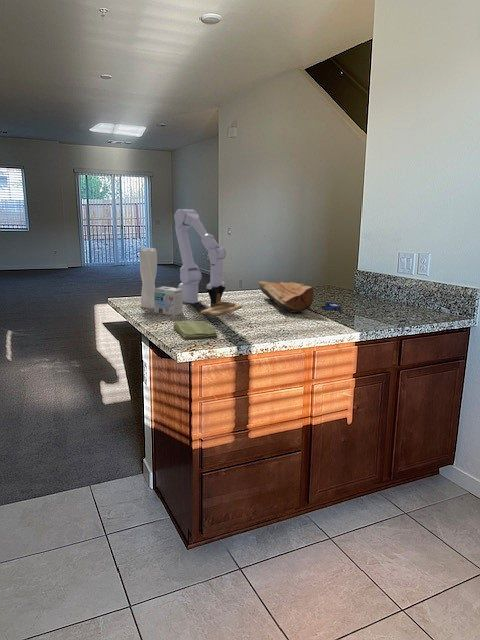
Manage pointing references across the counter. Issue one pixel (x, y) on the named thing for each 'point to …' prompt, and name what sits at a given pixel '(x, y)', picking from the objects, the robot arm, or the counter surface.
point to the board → (220, 309)
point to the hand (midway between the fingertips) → (215, 302)
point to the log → (289, 295)
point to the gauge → (221, 302)
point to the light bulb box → (168, 301)
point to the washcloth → (194, 329)
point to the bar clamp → (333, 307)
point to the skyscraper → (148, 276)
